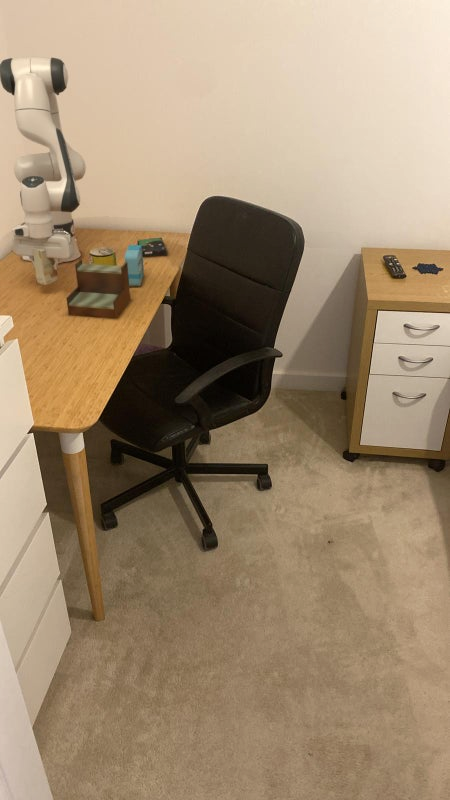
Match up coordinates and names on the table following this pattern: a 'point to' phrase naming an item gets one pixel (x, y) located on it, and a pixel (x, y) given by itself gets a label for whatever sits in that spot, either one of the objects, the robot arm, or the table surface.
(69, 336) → the table surface
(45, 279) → the cosmetic box
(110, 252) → the beverage can
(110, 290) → the step shelf
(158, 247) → the disk drive
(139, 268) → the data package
